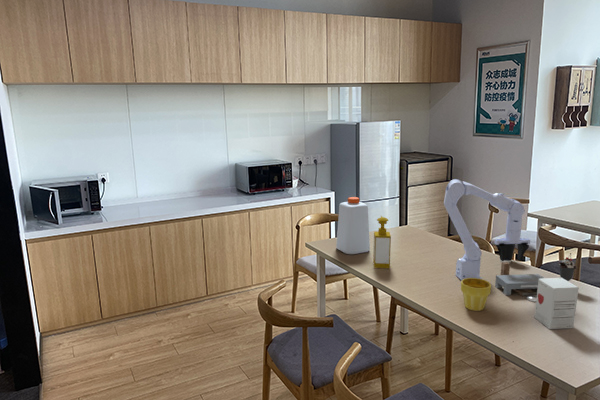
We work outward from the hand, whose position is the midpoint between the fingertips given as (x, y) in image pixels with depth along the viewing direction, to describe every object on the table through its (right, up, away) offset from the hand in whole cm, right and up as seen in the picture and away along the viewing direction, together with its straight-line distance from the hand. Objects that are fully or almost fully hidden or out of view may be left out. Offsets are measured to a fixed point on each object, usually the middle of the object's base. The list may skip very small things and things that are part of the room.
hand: (510, 260), depth 193 cm
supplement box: (-2, -17, -36) cm, 40 cm away
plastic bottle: (-62, -1, +46) cm, 77 cm away
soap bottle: (-51, -5, +24) cm, 57 cm away
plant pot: (-25, -15, -23) cm, 37 cm away
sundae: (+19, -11, -8) cm, 23 cm away
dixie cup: (+10, -4, +26) cm, 28 cm away
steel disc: (+1, -13, -17) cm, 21 cm away
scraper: (0, -10, -4) cm, 11 cm away
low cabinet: (+1, -11, -8) cm, 14 cm away
